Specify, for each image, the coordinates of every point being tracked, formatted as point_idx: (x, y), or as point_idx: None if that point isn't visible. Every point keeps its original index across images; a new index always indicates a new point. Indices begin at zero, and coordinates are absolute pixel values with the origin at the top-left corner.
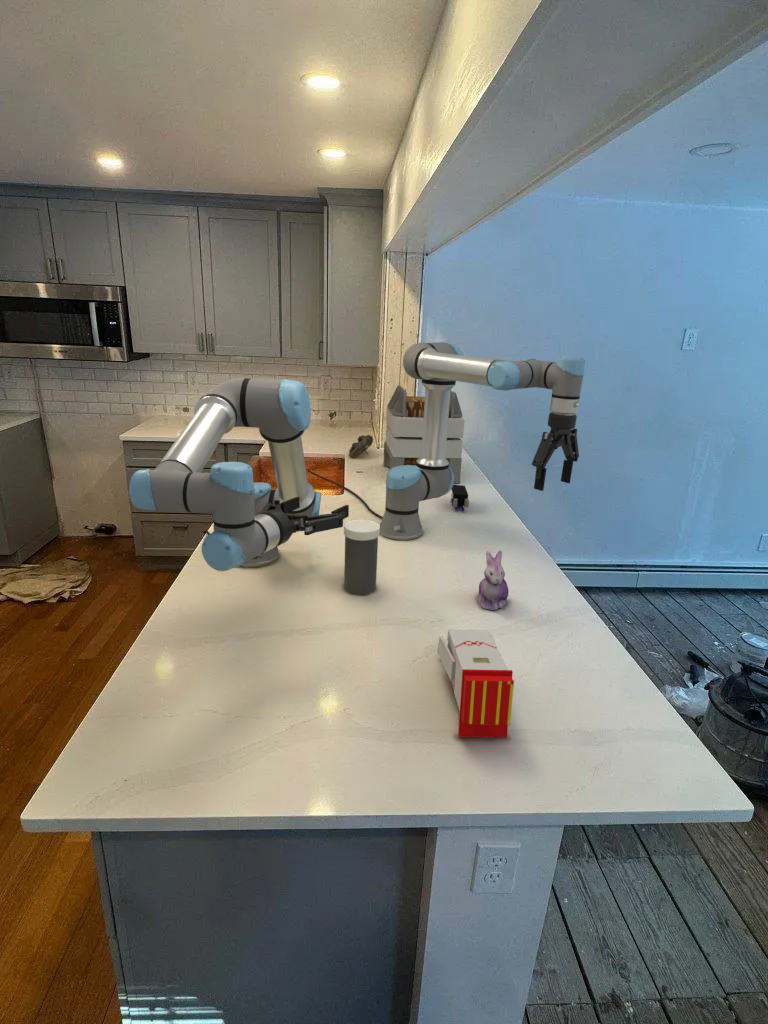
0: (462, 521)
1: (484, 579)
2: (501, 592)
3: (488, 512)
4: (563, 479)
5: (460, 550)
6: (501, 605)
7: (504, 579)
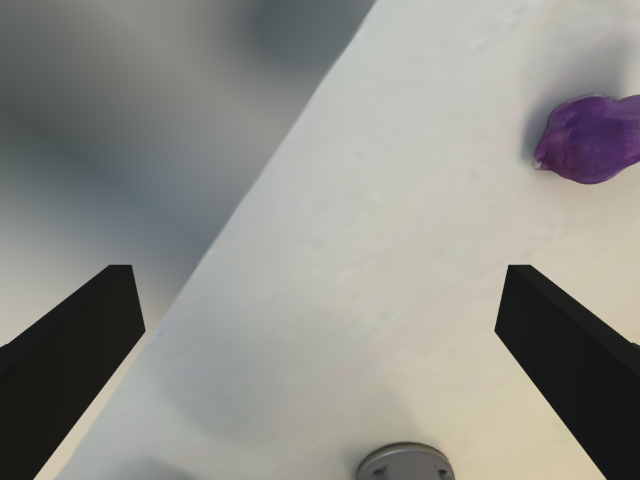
0: (230, 453)
1: (624, 168)
2: (637, 95)
3: (125, 457)
4: (131, 322)
5: (375, 357)
6: (599, 94)
7: (585, 130)
